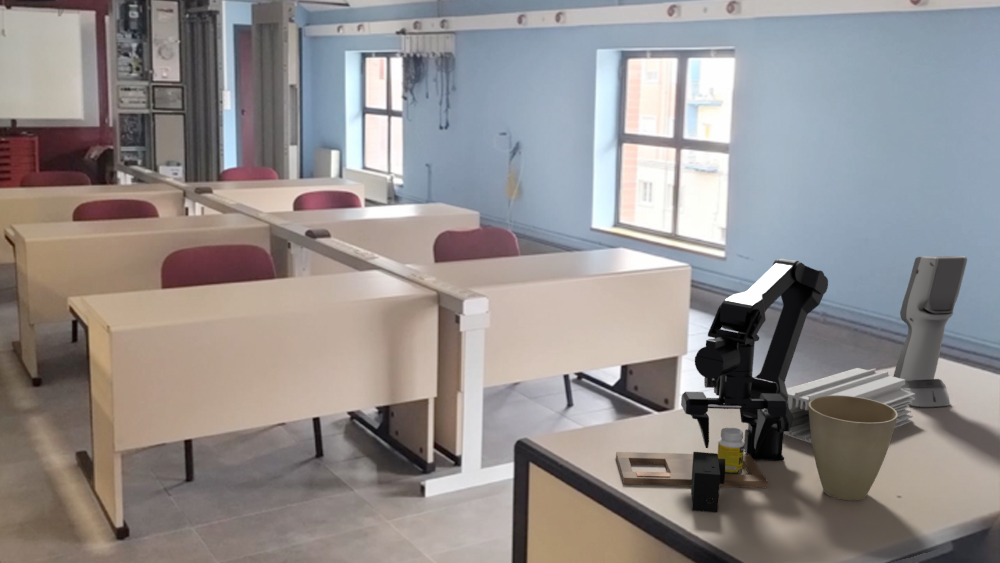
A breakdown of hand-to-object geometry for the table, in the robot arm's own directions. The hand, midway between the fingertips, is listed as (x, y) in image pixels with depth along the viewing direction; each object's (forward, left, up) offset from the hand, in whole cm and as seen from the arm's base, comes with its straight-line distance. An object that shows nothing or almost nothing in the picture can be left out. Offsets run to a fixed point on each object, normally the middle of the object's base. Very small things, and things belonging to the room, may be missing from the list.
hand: (731, 448), depth 187 cm
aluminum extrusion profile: (-31, -29, -6) cm, 43 cm away
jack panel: (+8, 0, -5) cm, 9 cm away
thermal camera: (-55, -50, -5) cm, 74 cm away
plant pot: (-19, +8, -5) cm, 21 cm away
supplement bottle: (0, 0, -5) cm, 5 cm away
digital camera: (+7, +13, -5) cm, 15 cm away
